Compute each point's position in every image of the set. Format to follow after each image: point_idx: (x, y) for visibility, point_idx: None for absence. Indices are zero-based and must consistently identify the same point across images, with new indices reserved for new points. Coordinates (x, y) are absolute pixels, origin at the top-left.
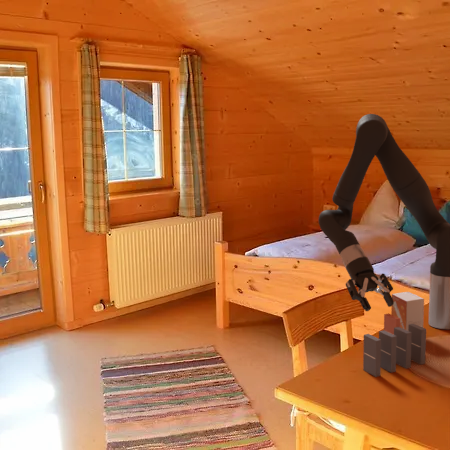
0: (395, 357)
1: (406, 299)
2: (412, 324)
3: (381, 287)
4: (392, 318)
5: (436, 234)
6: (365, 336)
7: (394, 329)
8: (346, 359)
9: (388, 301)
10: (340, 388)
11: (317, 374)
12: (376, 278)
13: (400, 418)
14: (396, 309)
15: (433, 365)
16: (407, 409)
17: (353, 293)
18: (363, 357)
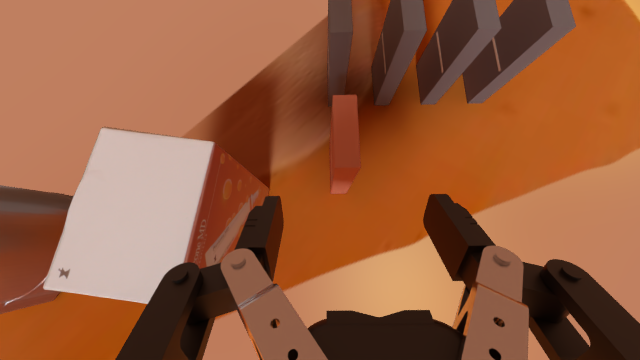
0: (433, 38)
1: (189, 165)
2: (340, 25)
3: (280, 292)
4: (357, 116)
5: None
6: (569, 20)
7: (424, 32)
8: (490, 171)
9: (277, 226)
10: (576, 56)
11: (602, 132)
12: None
13: None
14: (226, 240)
15: (318, 53)
16: None
17: (558, 348)
18: (506, 82)
